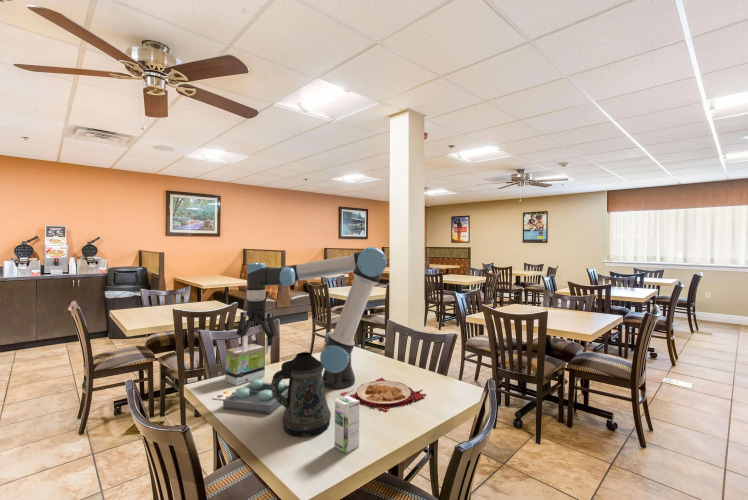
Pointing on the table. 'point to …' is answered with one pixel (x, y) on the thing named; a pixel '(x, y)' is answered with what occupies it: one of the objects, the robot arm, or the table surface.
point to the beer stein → (303, 396)
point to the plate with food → (385, 394)
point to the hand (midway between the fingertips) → (256, 352)
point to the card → (224, 395)
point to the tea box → (244, 364)
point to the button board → (254, 401)
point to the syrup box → (346, 424)
